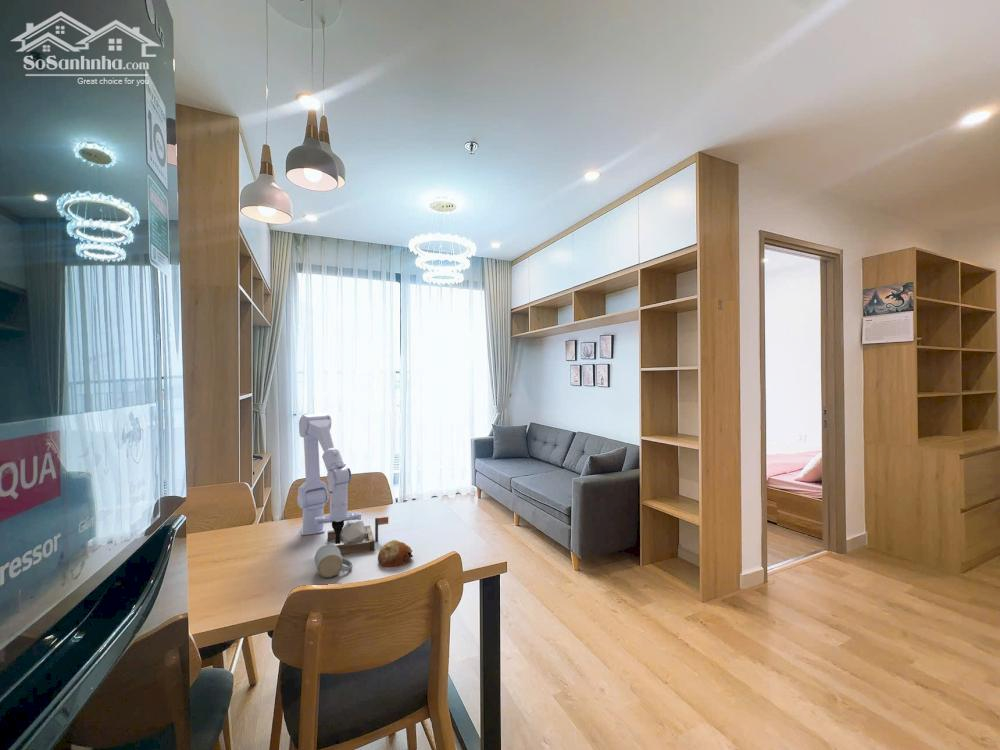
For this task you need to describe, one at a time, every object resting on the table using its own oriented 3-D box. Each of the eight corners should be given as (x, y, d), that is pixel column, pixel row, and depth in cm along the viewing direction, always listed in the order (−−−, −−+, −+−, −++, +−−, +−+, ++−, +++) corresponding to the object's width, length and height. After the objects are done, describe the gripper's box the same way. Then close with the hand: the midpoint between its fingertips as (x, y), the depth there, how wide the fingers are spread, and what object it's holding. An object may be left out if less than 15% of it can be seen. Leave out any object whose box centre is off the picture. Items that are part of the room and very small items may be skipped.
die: (350, 553, 138) (368, 527, 141) (330, 539, 140) (348, 513, 143) (358, 552, 146) (375, 527, 149) (339, 538, 148) (356, 514, 151)
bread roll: (389, 564, 137) (379, 542, 137) (418, 551, 137) (407, 529, 137) (380, 579, 127) (368, 555, 127) (410, 565, 127) (399, 541, 127)
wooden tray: (327, 539, 149) (327, 517, 149) (385, 531, 156) (385, 510, 156) (327, 557, 134) (327, 532, 134) (391, 547, 142) (391, 524, 142)
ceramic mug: (317, 582, 118) (317, 556, 118) (314, 570, 125) (314, 545, 125) (354, 574, 124) (355, 549, 124) (349, 563, 130) (350, 539, 130)
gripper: (315, 508, 136) (314, 550, 136) (361, 504, 142) (361, 544, 142) (315, 502, 143) (315, 542, 143) (360, 498, 148) (360, 536, 148)
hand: (338, 542), depth 143 cm, fingers closed, pressing on die
